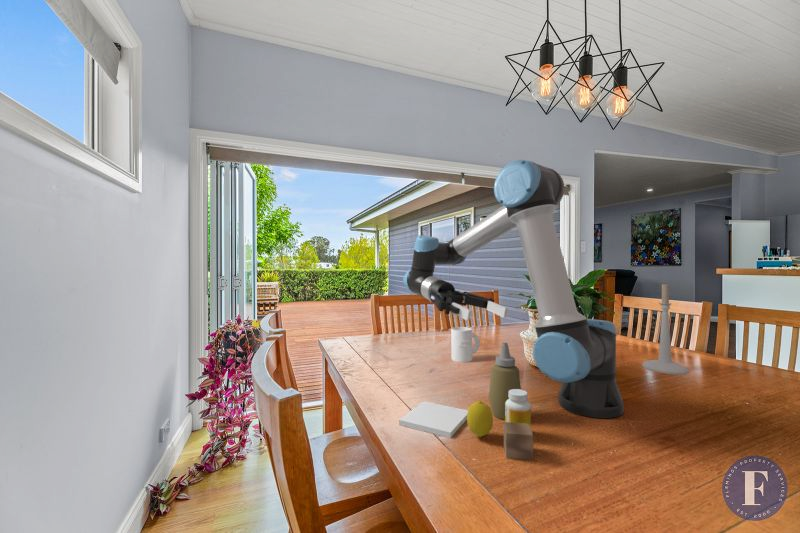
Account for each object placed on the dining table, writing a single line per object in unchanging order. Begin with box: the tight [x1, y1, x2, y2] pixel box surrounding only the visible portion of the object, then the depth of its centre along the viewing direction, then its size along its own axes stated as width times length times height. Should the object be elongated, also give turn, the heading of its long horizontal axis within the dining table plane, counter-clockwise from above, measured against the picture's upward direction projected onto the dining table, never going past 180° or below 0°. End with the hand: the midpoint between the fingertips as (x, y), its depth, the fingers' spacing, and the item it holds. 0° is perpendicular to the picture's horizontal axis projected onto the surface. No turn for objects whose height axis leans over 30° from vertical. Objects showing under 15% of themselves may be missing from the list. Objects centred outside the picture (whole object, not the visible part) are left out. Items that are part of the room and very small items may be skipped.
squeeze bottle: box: [488, 342, 522, 420], centre depth 91 cm, size 8×8×18 cm
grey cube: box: [503, 421, 534, 461], centre depth 74 cm, size 5×5×5 cm
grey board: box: [398, 400, 469, 439], centre depth 89 cm, size 13×13×1 cm
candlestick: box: [642, 283, 689, 375], centre depth 128 cm, size 13×13×30 cm
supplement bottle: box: [504, 389, 532, 430], centre depth 81 cm, size 5×5×10 cm
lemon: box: [466, 400, 494, 438], centre depth 80 cm, size 6×6×8 cm
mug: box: [450, 326, 481, 363], centre depth 142 cm, size 8×12×12 cm
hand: (488, 314), depth 97 cm, fingers open, 13 cm apart
